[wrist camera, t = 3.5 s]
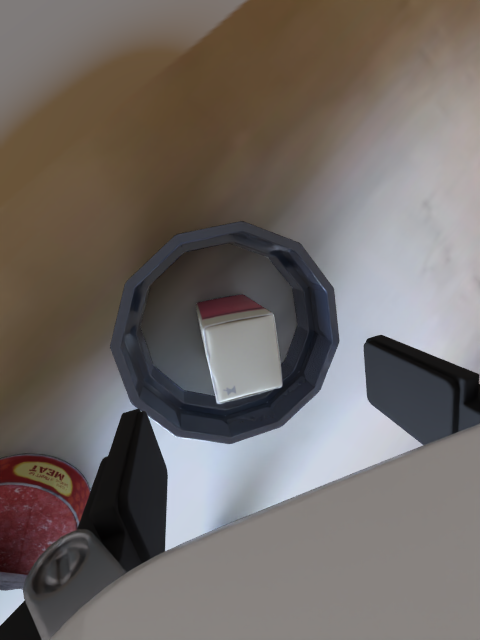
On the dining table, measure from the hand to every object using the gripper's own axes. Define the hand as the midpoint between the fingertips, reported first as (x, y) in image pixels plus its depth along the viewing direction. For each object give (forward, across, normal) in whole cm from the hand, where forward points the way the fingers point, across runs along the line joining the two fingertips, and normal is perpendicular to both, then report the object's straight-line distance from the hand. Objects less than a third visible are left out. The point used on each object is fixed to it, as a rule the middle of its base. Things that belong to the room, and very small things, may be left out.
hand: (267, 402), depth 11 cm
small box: (+13, 0, 0) cm, 13 cm away
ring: (+13, 0, 0) cm, 13 cm away
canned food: (+13, +20, +11) cm, 26 cm away
